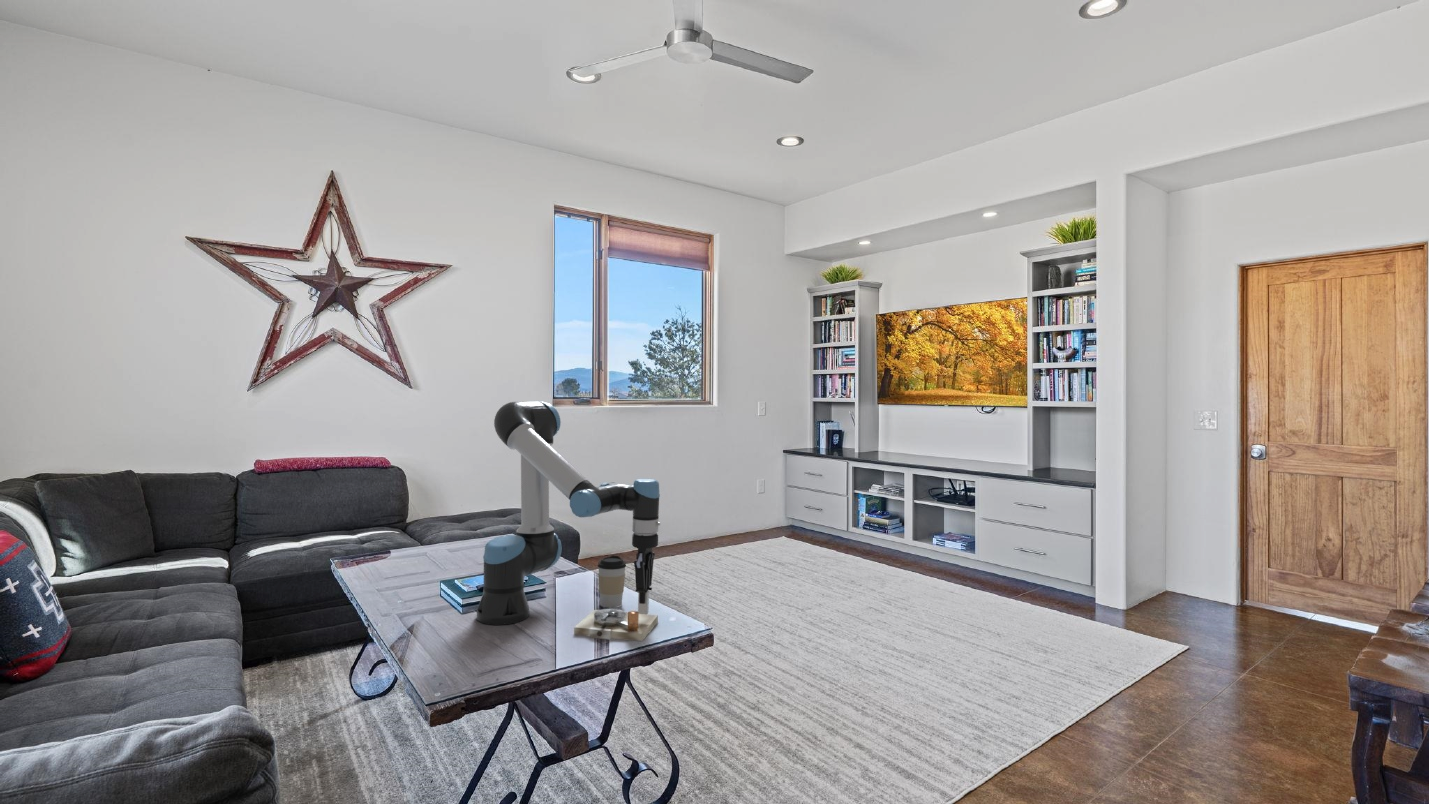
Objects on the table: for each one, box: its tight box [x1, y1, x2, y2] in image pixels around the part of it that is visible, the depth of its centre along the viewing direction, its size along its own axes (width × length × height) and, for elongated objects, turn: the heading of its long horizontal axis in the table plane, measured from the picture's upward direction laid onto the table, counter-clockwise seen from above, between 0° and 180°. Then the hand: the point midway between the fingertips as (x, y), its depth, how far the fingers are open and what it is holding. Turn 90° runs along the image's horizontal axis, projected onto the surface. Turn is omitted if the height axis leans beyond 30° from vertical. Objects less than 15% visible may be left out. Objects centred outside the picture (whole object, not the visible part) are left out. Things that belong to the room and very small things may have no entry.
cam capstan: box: [594, 608, 639, 631], centre depth 195 cm, size 16×10×5 cm, turn 49°
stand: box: [573, 609, 659, 642], centre depth 198 cm, size 20×18×2 cm
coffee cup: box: [597, 555, 627, 609], centre depth 220 cm, size 9×9×15 cm
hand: (643, 613), depth 199 cm, fingers closed
